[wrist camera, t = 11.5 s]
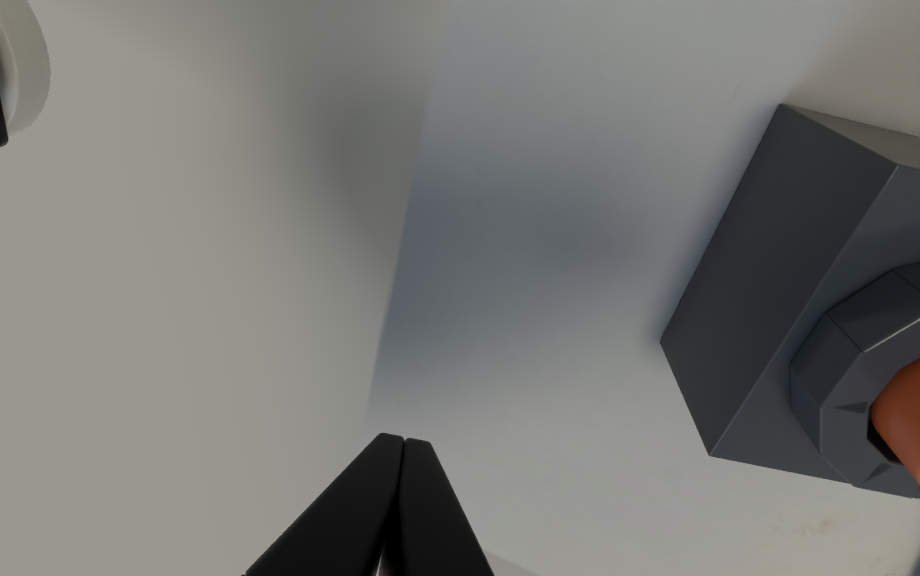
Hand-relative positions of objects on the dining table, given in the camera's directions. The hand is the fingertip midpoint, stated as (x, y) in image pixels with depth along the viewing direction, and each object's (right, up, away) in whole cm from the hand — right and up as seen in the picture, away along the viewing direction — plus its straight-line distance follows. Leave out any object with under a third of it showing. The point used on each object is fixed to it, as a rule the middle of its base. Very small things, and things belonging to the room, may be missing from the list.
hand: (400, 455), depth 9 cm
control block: (+16, +3, +12) cm, 21 cm away
